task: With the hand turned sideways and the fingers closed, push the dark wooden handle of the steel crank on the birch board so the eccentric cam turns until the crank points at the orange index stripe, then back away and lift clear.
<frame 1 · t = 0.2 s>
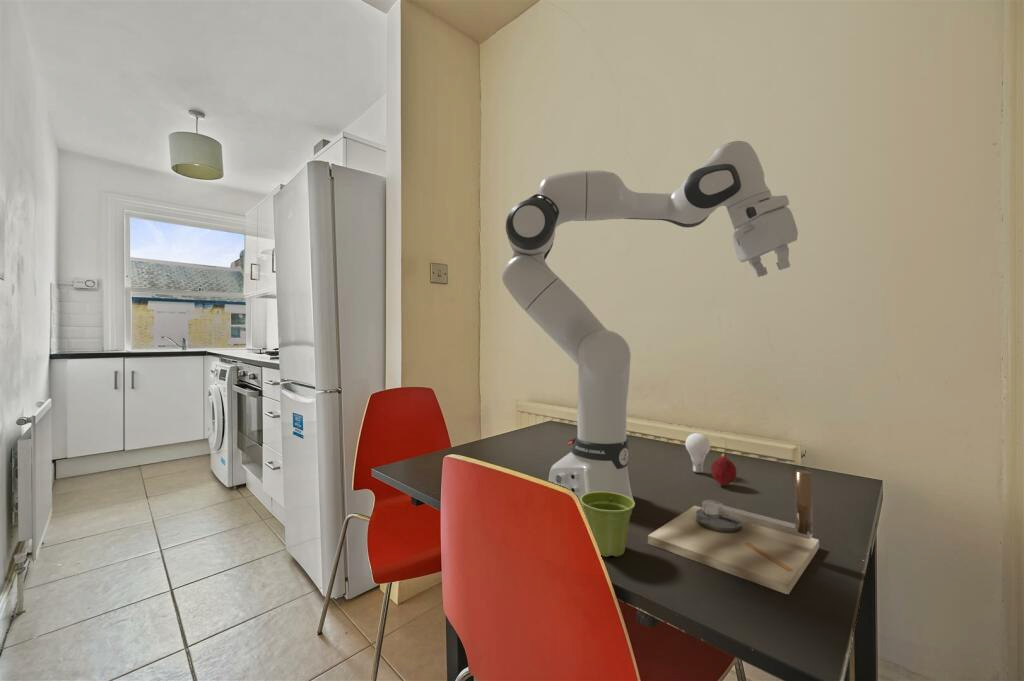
hand: (773, 272, 96), 52 cm above the table, tool tilted 20°, fingers open, 8 cm apart
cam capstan: (750, 497, 79), point 8 cm above the table, hinge at 0.0°
plant pot: (607, 550, 76), on the table
stand: (732, 545, 77), on the table
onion: (723, 486, 109), on the table
lightbulb: (697, 473, 120), on the table
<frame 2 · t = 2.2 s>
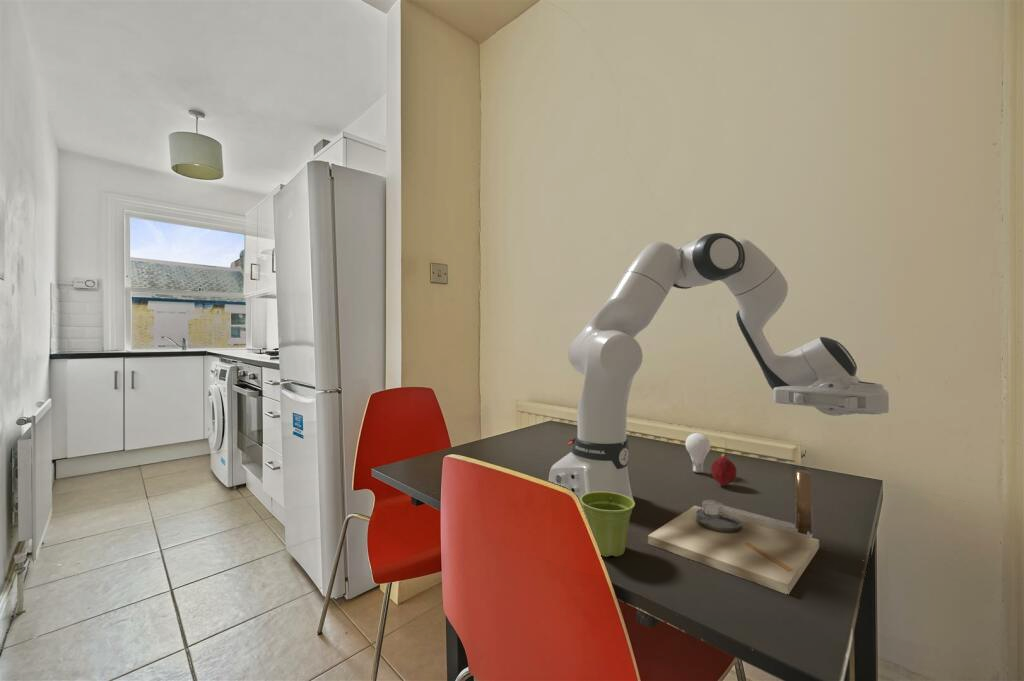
hand: (820, 401, 89), 24 cm above the table, tool horizontal, fingers open, 6 cm apart
nothing on the table moved.
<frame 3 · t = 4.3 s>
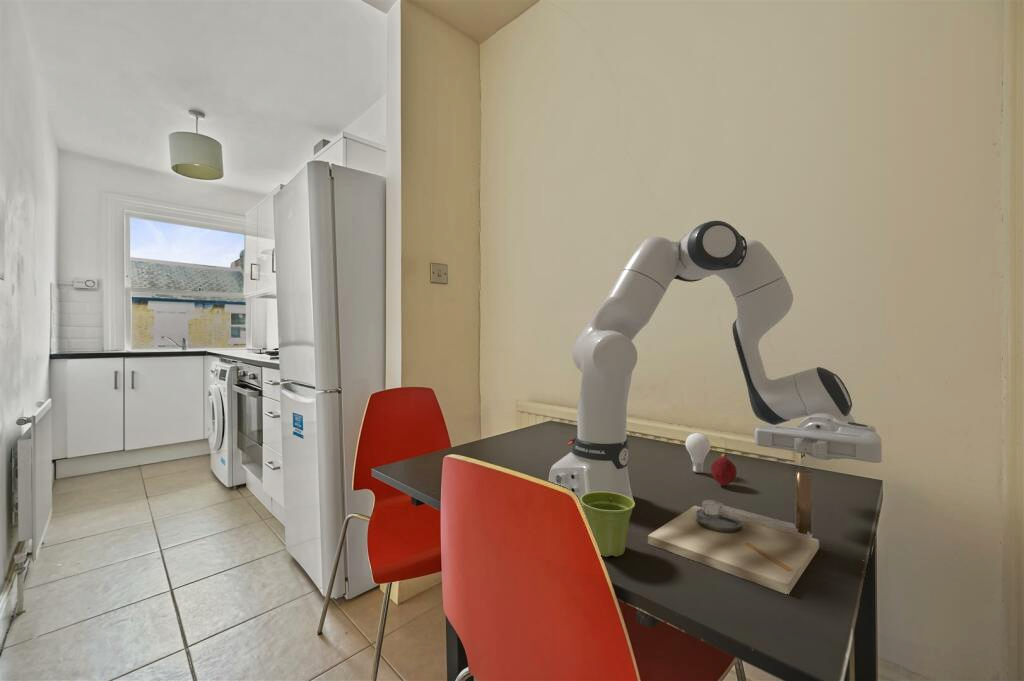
hand: (805, 449, 79), 17 cm above the table, tool horizontal, fingers closed
nothing on the table moved.
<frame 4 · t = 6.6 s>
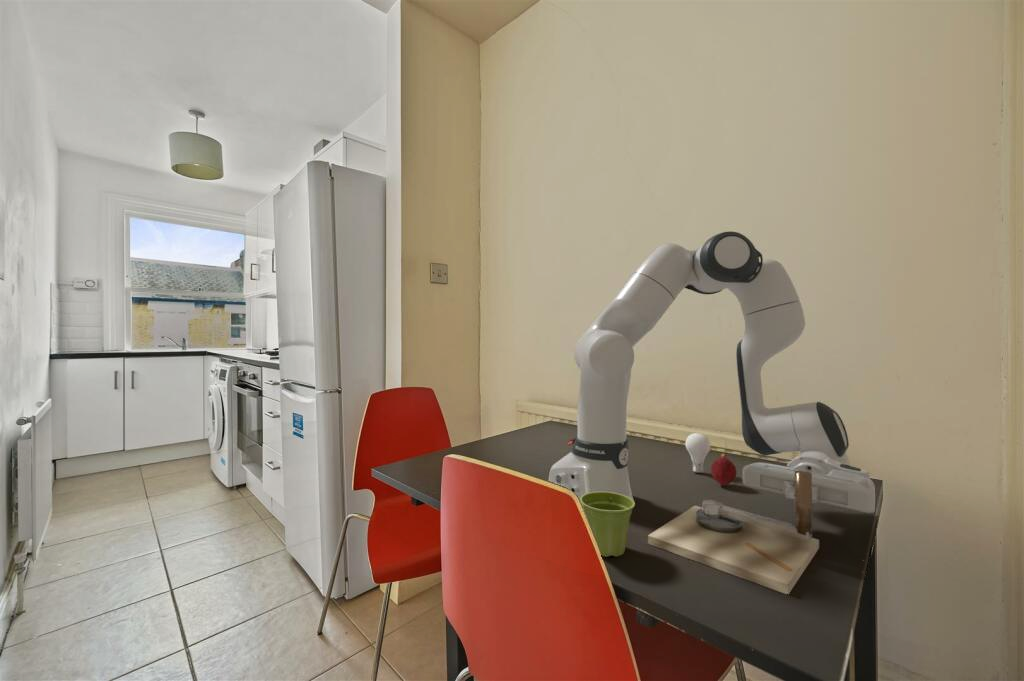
hand: (794, 495, 75), 10 cm above the table, tool horizontal, fingers closed
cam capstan: (749, 497, 79), point 8 cm above the table, hinge at -1.4°, touching gripper
everything else where it was.
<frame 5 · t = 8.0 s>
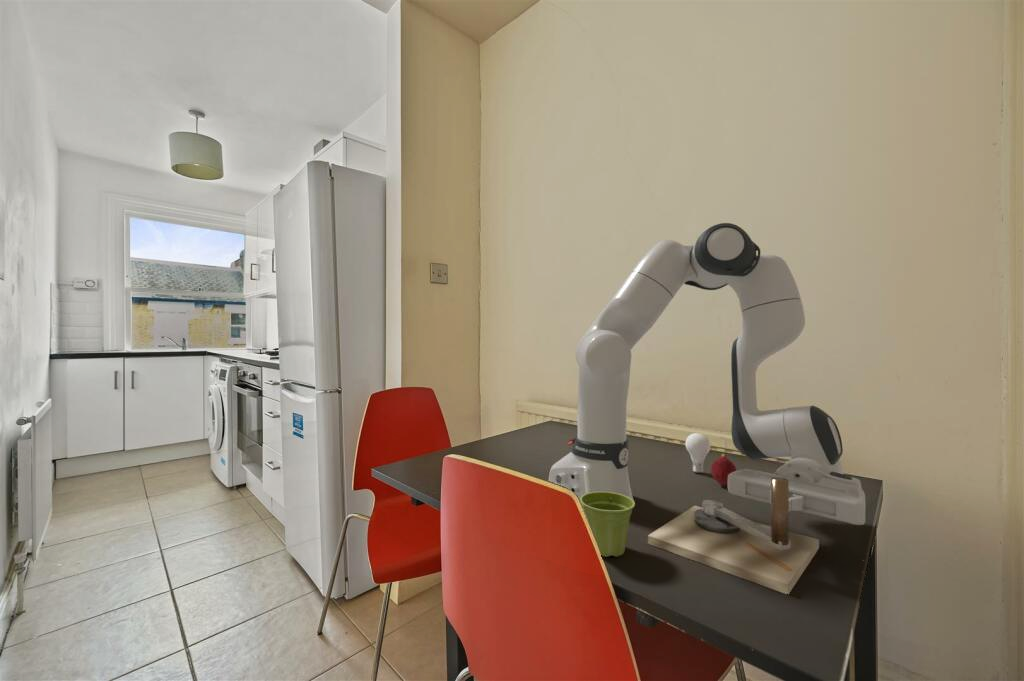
hand: (779, 505, 70), 10 cm above the table, tool horizontal, fingers closed, pressing on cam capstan
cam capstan: (739, 500, 77), point 8 cm above the table, hinge at -28.2°, touching gripper
everything else where it was.
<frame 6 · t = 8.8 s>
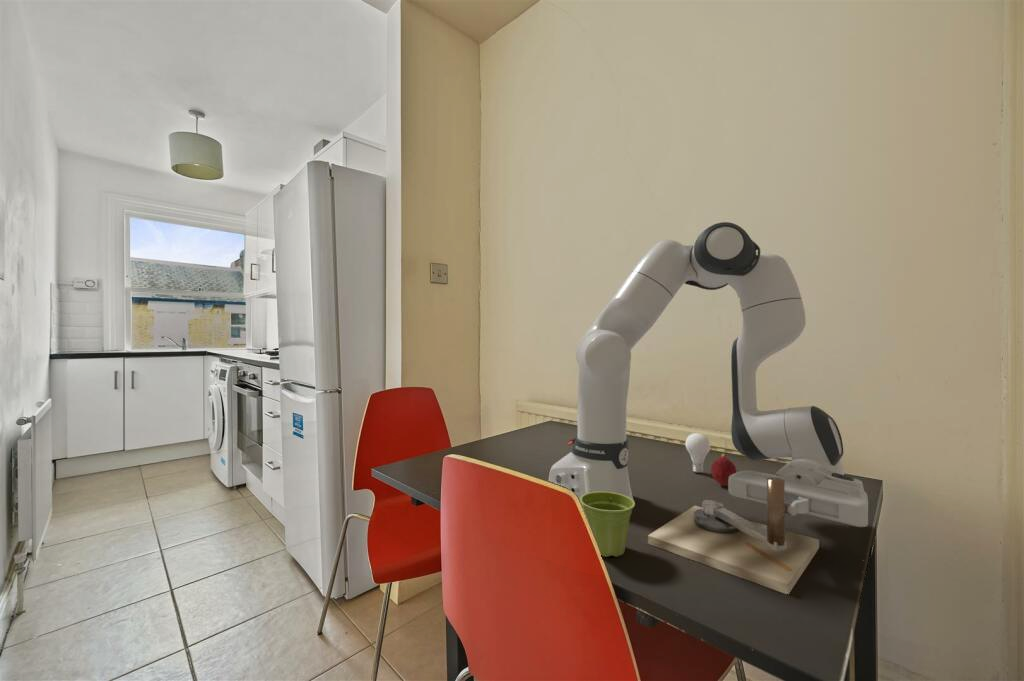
hand: (781, 508, 70), 10 cm above the table, tool horizontal, fingers closed
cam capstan: (737, 500, 77), point 8 cm above the table, hinge at -31.3°, touching gripper
everything else where it was.
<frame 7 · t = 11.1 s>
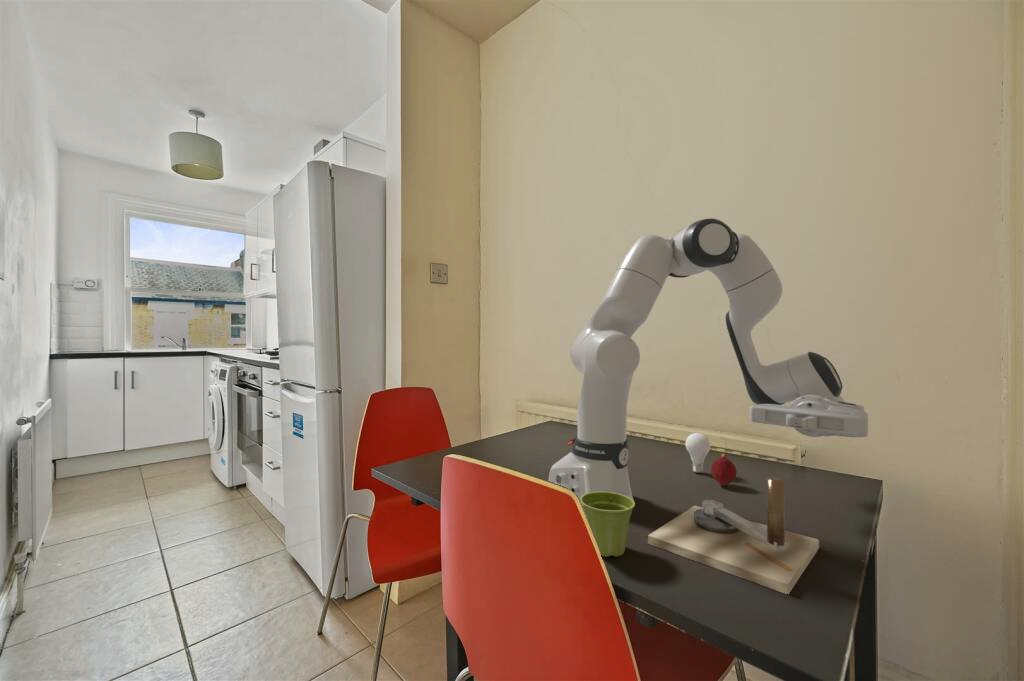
hand: (796, 423, 84), 21 cm above the table, tool horizontal, fingers closed
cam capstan: (737, 500, 77), point 8 cm above the table, hinge at -31.3°
everything else where it was.
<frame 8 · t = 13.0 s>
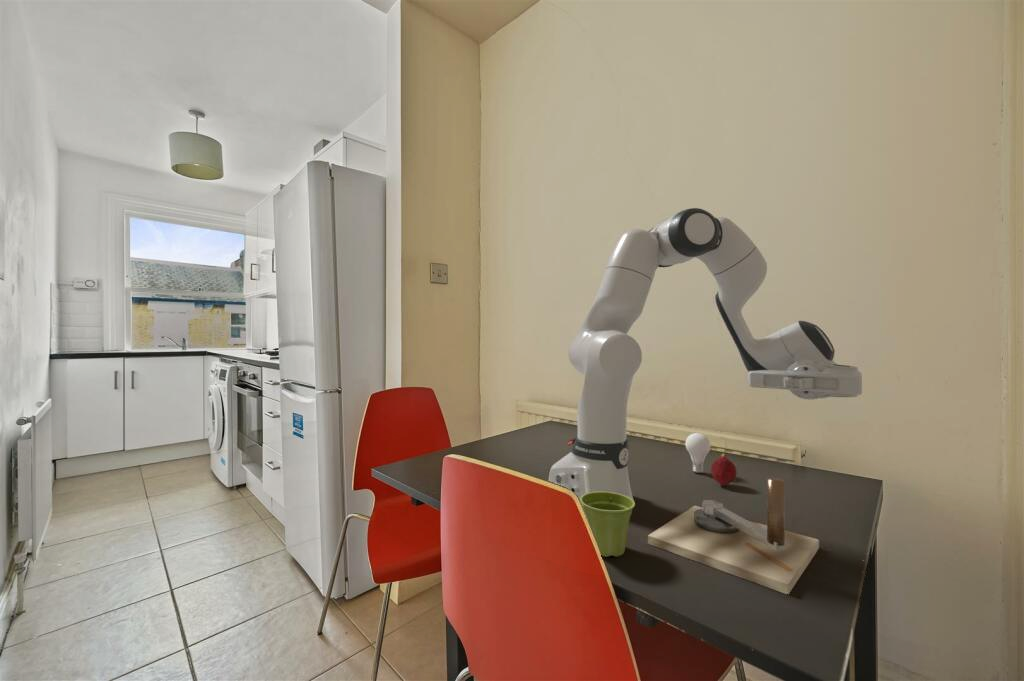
hand: (793, 383, 87), 28 cm above the table, tool horizontal, fingers closed
nothing on the table moved.
at the end: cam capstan at -31° (first picture: +0°) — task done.
